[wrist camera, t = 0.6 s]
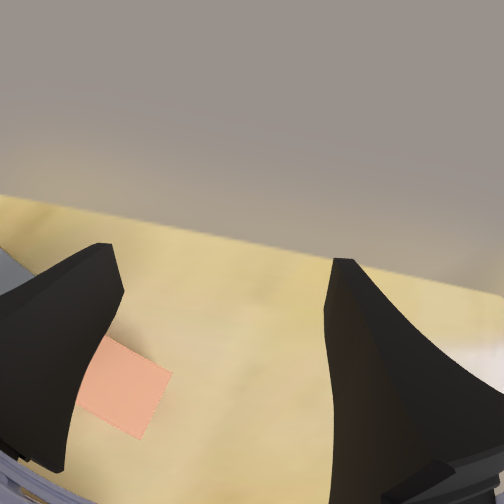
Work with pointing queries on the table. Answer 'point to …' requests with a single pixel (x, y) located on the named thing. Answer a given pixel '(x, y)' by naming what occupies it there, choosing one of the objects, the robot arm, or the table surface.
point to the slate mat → (11, 273)
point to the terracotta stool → (122, 387)
